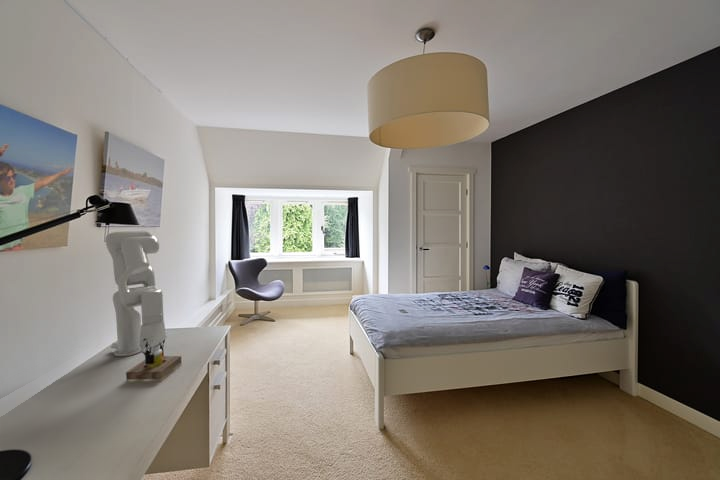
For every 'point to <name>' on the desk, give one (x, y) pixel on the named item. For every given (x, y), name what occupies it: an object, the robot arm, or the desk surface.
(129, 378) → the socket block
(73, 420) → the desk surface
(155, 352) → the supplement bottle
